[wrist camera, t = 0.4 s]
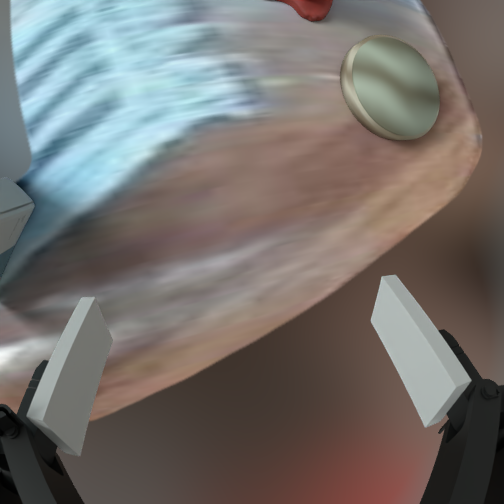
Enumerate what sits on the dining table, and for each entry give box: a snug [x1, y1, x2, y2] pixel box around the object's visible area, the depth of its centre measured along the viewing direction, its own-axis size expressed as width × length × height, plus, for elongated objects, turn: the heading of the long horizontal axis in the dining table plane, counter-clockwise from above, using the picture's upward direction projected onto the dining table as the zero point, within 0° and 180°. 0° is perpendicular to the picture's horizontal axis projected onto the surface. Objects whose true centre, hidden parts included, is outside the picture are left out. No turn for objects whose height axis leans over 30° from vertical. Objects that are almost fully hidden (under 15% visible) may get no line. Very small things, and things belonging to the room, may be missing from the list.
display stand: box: [340, 35, 440, 140], centre depth 32 cm, size 15×15×3 cm
